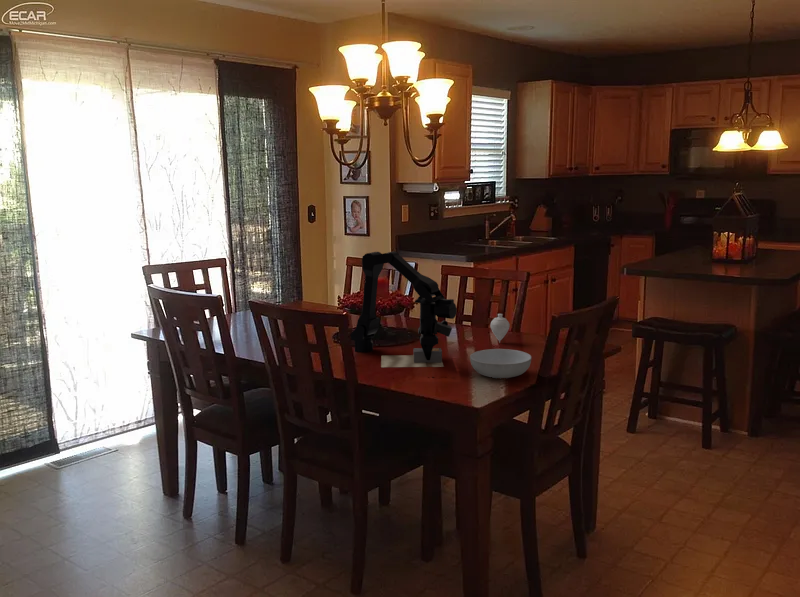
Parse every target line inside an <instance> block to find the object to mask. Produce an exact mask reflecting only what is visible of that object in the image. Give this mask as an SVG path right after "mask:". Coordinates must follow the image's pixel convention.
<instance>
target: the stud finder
mask: <svg viewBox="0 0 800 597" xmlns="http://www.w3.org/2000/svg"><path fill="white" fill-rule="evenodd" d="M413 355H414V363H422V362H442V363H443V350H442V348H441V347H433V348H432V353H431V357H430V360H427V359H426V357H425V354H424V352H423V349H422V347H421V348H420V347H417V348H415V347H414V348H413Z"/></svg>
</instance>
